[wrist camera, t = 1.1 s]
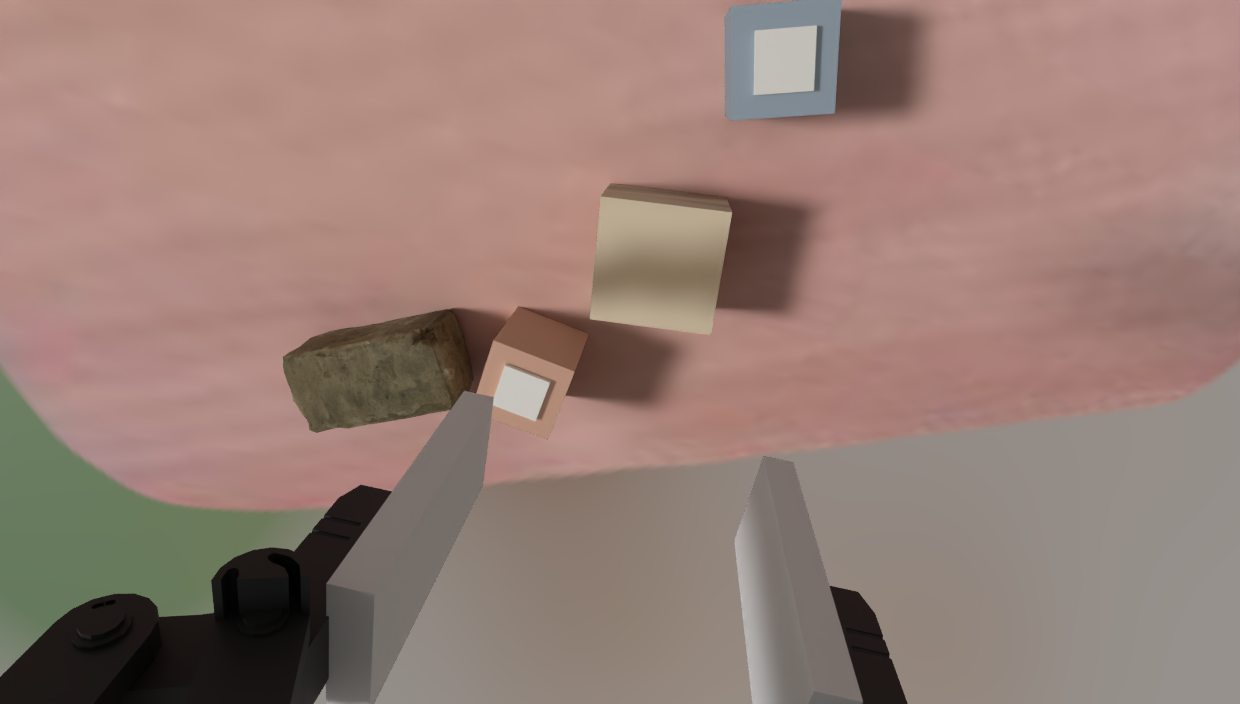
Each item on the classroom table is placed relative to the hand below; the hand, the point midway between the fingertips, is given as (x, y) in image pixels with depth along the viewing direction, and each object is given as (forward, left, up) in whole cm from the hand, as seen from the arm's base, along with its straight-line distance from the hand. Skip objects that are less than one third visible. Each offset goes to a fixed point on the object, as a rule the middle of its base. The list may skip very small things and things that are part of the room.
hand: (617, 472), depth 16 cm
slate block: (-11, +4, -25) cm, 28 cm away
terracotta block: (+9, -6, -25) cm, 27 cm away
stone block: (+12, -16, -25) cm, 32 cm away
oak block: (0, 0, -25) cm, 25 cm away
